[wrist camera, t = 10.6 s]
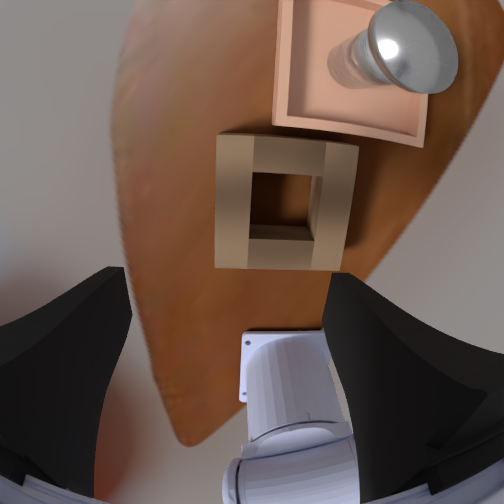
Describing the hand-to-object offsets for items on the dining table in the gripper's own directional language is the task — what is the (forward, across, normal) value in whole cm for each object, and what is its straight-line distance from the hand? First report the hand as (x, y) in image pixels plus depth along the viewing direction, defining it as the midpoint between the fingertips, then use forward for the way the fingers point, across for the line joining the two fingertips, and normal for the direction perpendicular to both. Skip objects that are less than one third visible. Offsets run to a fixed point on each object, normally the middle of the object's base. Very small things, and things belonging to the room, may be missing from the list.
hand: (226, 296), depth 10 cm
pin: (+10, -7, -10) cm, 15 cm away
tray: (+10, -7, -10) cm, 16 cm away
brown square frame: (+10, -3, -1) cm, 11 cm away
